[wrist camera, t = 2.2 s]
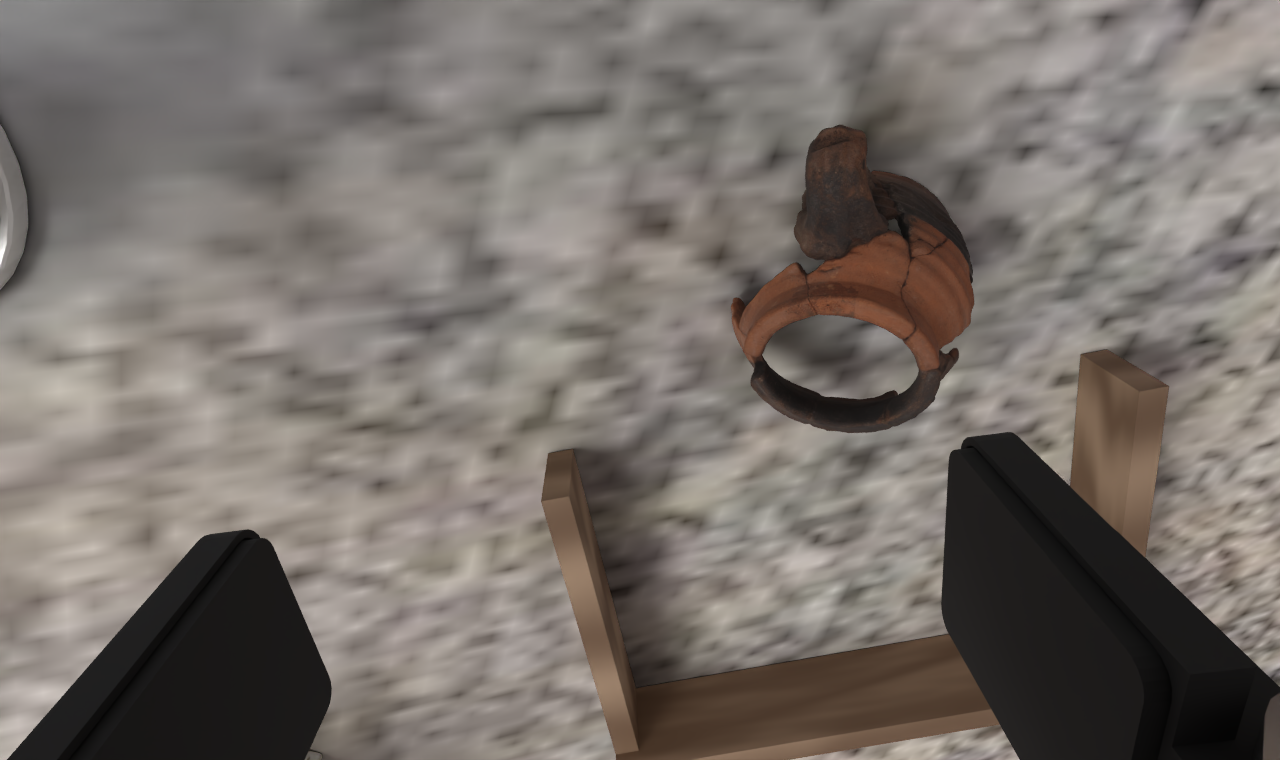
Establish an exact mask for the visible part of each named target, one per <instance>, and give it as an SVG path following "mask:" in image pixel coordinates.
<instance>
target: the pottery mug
mask: <svg viewBox="0 0 1280 760" xmlns="http://www.w3.org/2000/svg"><path fill="white" fill-rule="evenodd" d="M866 156H867V139H866V136H865V133H864V132H863V131H861V130H856V129H852V128H850V127H847V126H844V125H837V126H835V127H833V128H826V129H823V130H822V131H821V132H820V133H819V135H818V136H817V138H816V139H815V140H813V141H812V143H811V144H810V146H809V150H808V155H807V159H806V172H805V179H806V190H805V193H804V194H803V196H802V202H803V203H802V211H800V212H799V213H798V216H797V222H796V225H795V227H794V235H795V237H796V239H797V241H798V242H799V244H800V247H801V249H802V251H803V252H804V253H805V254H806V255H807V256H808V257H810V258H813V259H816V260H825V261H824V263H823V264H822V265H820V266H819V267H818V269H817V270H815V271H812V272H811V273H809V274H807V273H806V272H805V270H803V268H802V266H801V265H800V264H799V263H797V262H795V263H793V264H791V265H789V266H788V267H786V268H785V270H783V271H782V272H780V273H779V274H778V275H777V276H775V277H774V279H773V280H771V281H769V282H768V283H767V284H765V285H764V286H763V287H762V288H761V290H760V291H759V292H758V294H757V295H756V296H755V297H754V299H753V300H752V301H751V302H750V303H749V304H748V305H747V306H746V307H745V305H744V303H743V301H742V300H741V299H740V298H734V299H733V303H732V305H731V311H732V324H733V328H734V331H735V335H736V337H737V339H738V341H739V343H740V346H741V347H742V349H743V352H744V353H745V355H746V356H747V359H748V360H749V362H750V363H751V364H752V366H753V367H754V372H753V374H752V377H751V386H752V388H753V389H754V390H755V391H756V392H757V393H758V395H759V396H760V397H761V398H762V399H763V400H764V401H766V402H767V403H768V404H770V405H771V406H772V407H773V408H774V409H776V410H777V411H779V412H780V413H782V414H783V415H786V416H787V417H789V418H791V419H794V420H796V421H799V422H802V423H804V424H811V425H812V426H814V427H817V428H821V429H825V430H827V431H840V432H847V433H862V432H865V433H867V432H876V431H879V430H886V429H889V428H891V427H892V426H897V425H900V424H902V423H904V422H906V421H908V420H910V419H912V418H915V417H916V416H917V415H918V414H919V413H921V412H922V411H924V410H925V409H926V408H927V407H928V406H929V405H930V404H931V403H932V402H933V401H934V400H935V395H936V393H937V391H938V389H939V385H940V381H941V380H942V379H943V378H944V376H945V375H946V374H947V373H948V372H949V371H950V369H951V368H952V367H953V366H954V364H955V363H956V362H957V360H958V358H959V351H958V349H957V348H953V349H952V350H951V351H950V352H949V353H948V354H944V353H942V351H940V349H941V348H942V347H943V346H944V345H946V344H948V343H950V342H952V341H953V340H954V338H955V337H957V336H959V335H960V334H961V333H962V332H963V330H964V329H965V328H966V327H968V326H969V324H970V322H971V312H972V308H973V306H974V294H973V289H972V286H971V284H972V282H973V279H972V274H973V269H972V265H971V262H970V256H969V253H968V250H967V247H966V244H965V242H964V240H963V236H962V234H961V232H960V230H959V229H958V228H957V226H956V225H955V224H954V223H953V221H952V220H951V218H950V216H949V214H948V212H947V210H946V209H945V207H944V206H943V204H942V203H941V202H940V201H939V199H938V198H937V197H936V196H935V195H934V194H933V193H931V192H930V191H929V190H928V189H926V188H925V187H924V186H922V185H921V184H919V183H917V182H916V181H914V180H912V179H910V178H907V177H904V176H899V175H896V174H892V173H887V172H881V171H872V172H870V171H869V169H868V168H867V166H866ZM892 219H896V220H897V221H898V225H899V227H900V230H901V233H902V235H903V237H902V236H901V235H900V234H898V233H897V232H895V231H891V230H889V229H888V221H887V220H892ZM818 314H820V315H839V316H844V317H851V318H856V319H860V320H863V321H867V322H870V323H873V324H875V325H878V326H880V327H882V328H884V329H886V330H888V331H889V332H891V333H893V334H894V335H896V336H897V337H898V338H900V339H902V340H903V341H904V343H905V344H906V345H907V346H908V347H909V348H910V350H911V351H912V353H913V354H914V356H915V359H916V362H917V365H918V368H919V372H918V376H917V378H916V380H915V381H914V383H913V384H912V385H911V386H910V387H909V388H908V389H907V390H906V391H904V392H903V393H901V394H899V395H898V394H897V392H896V391H895V390H893V391H889V392H887V393H885V394H883V395H881V396H878V397H875V398H867V399H860V400H858V399H848V398H839V397H824V396H821V395H820V394H819V393H817V392H814V391H812V390H809V389H807V388H804V387H801V386H798V385H796V384H794V383H792V382H790V381H788V380H786V379H784V378H783V377H781V376H780V375H778V374H777V373H776V372H775V371H774V370H773V369H771V368H770V367H769V365H768V364H767V362H766V361H765V360H764V358H763V356H762V354H763V352H764V349H765V347H766V344H767V343H768V341H769V339H770V338H771V337H772V335H773V334H774V333H775V332H777V331H778V330H780V329H781V328H783V327H785V326H786V325H788V324H790V323H793V322H795V321H798V320H802V319H805V318H808V317H811V316H815V315H818Z"/></svg>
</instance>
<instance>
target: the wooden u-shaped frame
mask: <svg viewBox="0 0 1280 760" xmlns="http://www.w3.org/2000/svg"><path fill="white" fill-rule="evenodd" d="M1168 390H1169V386H1168V385H1166V384H1164V383H1163V382H1161V381H1159V380H1158V379H1156V378H1154V377H1153V376H1151V375H1149V374H1147V373H1146V372H1144V371H1142V370H1141V369H1139V368H1137V367H1136V366H1134V365H1132V364H1131V363H1129V362H1127V361H1125V360H1124V359H1122V358H1120V357H1119V356H1117V355H1115V354H1114V353H1112V352H1110V351H1109V350H1102V351H1096V352H1091V353H1086V354H1081V358H1080V370H1079V383H1078V395H1077V408H1076V420H1075V433H1074V445H1073V457H1072V470H1071V482H1070V487H1071V488H1072V489H1073V490H1074V491H1075V492H1076V493H1077V494H1078V495H1079V496H1080V497H1081V498H1082V499H1083V500H1084V501H1086V502H1087V503H1088V504H1089V505H1090V506H1091V507H1092V508H1093V509H1094V510H1095V511H1096V512H1097V513H1098V514H1099V515H1100V516H1101V517H1102V518H1103V519H1104V520H1105V521H1106V522H1107V523H1108V524H1109V525H1110V526H1111V527H1113V528H1114V529H1115V530H1116V531H1117V532H1119V533H1120V534H1121V535H1122V536H1123V537H1124V538H1125V539H1126V540H1127V541H1128V542H1129V543H1130V544H1131V545H1132V546H1133V547H1134V548H1135V549H1136V550H1137V551H1139V552H1140V553H1141V554H1142V555H1143V556H1144V557H1145V555H1146V547H1147V540H1148V533H1149V526H1150V519H1151V512H1152V504H1153V497H1154V490H1155V483H1156V476H1157V469H1158V462H1159V454H1160V447H1161V440H1162V433H1163V426H1164V419H1165V411H1166V404H1167V397H1168ZM541 502H542V506H543V509H544V512H545V516H546V519H547V523H548V526H549V529H550V533H551V536H552V540H553V543H554V546H555V550H556V553H557V556H558V560H559V563H560V567H561V570H562V573H563V577H564V580H565V584H566V587H567V590H568V594H569V597H570V600H571V604H572V607H573V611H574V614H575V617H576V621H577V624H578V628H579V631H580V634H581V638H582V641H583V644H584V648H585V651H586V655H587V658H588V661H589V665H590V668H591V672H592V675H593V678H594V682H595V685H596V688H597V692H598V695H599V699H600V702H601V705H602V709H603V712H604V716H605V719H606V722H607V726H608V729H609V732H610V736H611V739H612V743H613V746H614V749H615V753H616V760H790V759H796V758H802V757H808V756H814V755H820V754H825V753H831V752H837V751H843V750H849V749H855V748H861V747H867V746H873V745H879V744H885V743H891V742H897V741H903V740H909V739H915V738H921V737H927V736H933V735H939V734H945V733H951V732H957V731H963V730H969V729H975V728H981V727H987V726H993V725H999V722H998V720H997V718H996V717H995V715H994V713H993V711H992V709H991V708H990V706H989V704H988V702H987V701H986V699H985V697H984V695H983V694H982V692H981V690H980V688H979V686H978V685H977V683H976V681H975V679H974V678H973V676H972V674H971V672H970V670H969V669H968V667H967V665H966V663H965V662H964V660H963V658H962V656H961V655H960V653H959V651H958V649H957V647H956V646H955V644H954V642H953V640H952V639H951V637H950V635H949V634H948V635H942V636H936V637H930V638H924V639H919V640H913V641H907V642H901V643H895V644H889V645H884V646H878V647H872V648H866V649H860V650H855V651H849V652H843V653H837V654H831V655H826V656H820V657H814V658H808V659H802V660H797V661H791V662H785V663H779V664H773V665H768V666H762V667H756V668H750V669H744V670H739V671H733V672H727V673H721V674H715V675H710V676H704V677H698V678H692V679H686V680H681V681H675V682H669V683H663V684H657V685H652V686H646V687H640V688H636V687H635V683H634V679H633V676H632V672H631V668H630V664H629V660H628V657H627V653H626V649H625V645H624V641H623V638H622V634H621V630H620V626H619V622H618V619H617V615H616V611H615V607H614V603H613V600H612V596H611V592H610V588H609V584H608V581H607V577H606V573H605V569H604V565H603V562H602V558H601V554H600V550H599V546H598V543H597V539H596V535H595V531H594V527H593V524H592V520H591V516H590V512H589V508H588V505H587V501H586V497H585V493H584V489H583V486H582V482H581V478H580V474H579V470H578V467H577V463H576V459H575V455H574V451H573V449H570V450H564V451H559V452H553V453H548V458H547V465H546V472H545V479H544V486H543V493H542V500H541Z"/></svg>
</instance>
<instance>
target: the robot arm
mask: <svg viewBox="0 0 1280 760" xmlns="http://www.w3.org/2000/svg"><path fill="white" fill-rule="evenodd" d="M27 230H28V206H27V194H26V190H25V186H24V182H23V178H22V174H21V170H20V166H19V163H18V161H17V158H16V156H15V154H14V152H13V149H12V147H11V145H10V142H9V140H8V138H7V136H6V133H5V131H4V130H3V128H2V127H1V125H0V290H1V288H2V287H3V286H4V285H5V284H6V282H7V281H8V280H9V279H10V278H11V277H12V275H13V274H14V272H15V269H16V267H17V265H18V263H19V261H20V259H21V257H22V254H23V252H24V247H25V242H26V236H27ZM941 605H942V615H943V619H944V623H945V626H946V629H947V631H948V633H949V635H950V637H951V639H952V640H953V642H954V644H955V646H956V647H957V649H958V651H959V653H960V655H961V656H962V658H963V660H964V662H965V663H966V665H967V667H968V669H969V670H970V672H971V674H972V676H973V678H974V679H975V681H976V683H977V685H978V686H979V688H980V690H981V692H982V694H983V695H984V697H985V699H986V701H987V702H988V704H989V706H990V708H991V709H992V711H993V713H994V715H995V717H996V718H997V720H998V722H999V724H1000V725H1001V727H1002V729H1003V731H1004V732H1005V734H1006V736H1007V738H1008V740H1009V741H1010V743H1011V745H1012V747H1013V748H1014V750H1015V752H1016V754H1017V756H1018V757H1019V759H1020V760H1280V687H1279V686H1278V685H1277V684H1276V683H1275V682H1274V681H1273V680H1272V679H1271V678H1270V677H1269V676H1268V675H1266V674H1265V673H1264V672H1263V671H1262V670H1261V669H1260V668H1259V667H1258V666H1257V665H1256V664H1255V663H1254V662H1253V661H1252V660H1251V659H1250V658H1249V657H1248V656H1247V655H1246V654H1245V653H1244V652H1243V651H1242V650H1240V649H1239V648H1238V647H1237V646H1236V645H1235V644H1234V643H1233V642H1232V641H1231V640H1230V639H1229V638H1228V637H1227V636H1226V635H1225V634H1224V633H1223V632H1222V631H1221V630H1220V629H1219V628H1218V627H1217V626H1216V625H1214V624H1213V623H1212V622H1211V621H1210V620H1209V619H1208V618H1207V617H1206V616H1205V615H1204V614H1203V613H1202V612H1201V611H1200V610H1199V609H1198V608H1197V607H1196V606H1195V605H1194V604H1193V603H1192V602H1191V601H1189V600H1188V599H1187V598H1186V597H1185V596H1184V595H1183V594H1182V593H1181V592H1180V591H1179V590H1178V589H1177V588H1176V587H1175V586H1174V585H1173V584H1172V583H1171V582H1170V581H1169V580H1168V579H1167V578H1166V577H1165V576H1163V575H1162V574H1161V573H1160V572H1159V571H1158V570H1157V569H1156V568H1155V567H1154V566H1153V565H1152V564H1151V563H1150V562H1149V561H1148V560H1147V559H1146V558H1145V557H1144V556H1143V555H1142V554H1141V553H1140V552H1139V551H1137V550H1136V549H1135V548H1134V547H1133V546H1132V545H1131V544H1130V543H1129V542H1128V541H1127V540H1126V539H1125V538H1124V537H1123V536H1122V535H1121V534H1120V533H1119V532H1117V531H1116V530H1115V529H1114V528H1113V527H1111V526H1110V525H1109V524H1108V523H1107V522H1106V521H1105V520H1104V519H1103V518H1102V517H1101V516H1100V515H1099V514H1098V513H1097V512H1096V511H1095V510H1094V509H1093V508H1092V507H1091V506H1090V505H1089V504H1088V503H1087V502H1086V501H1084V500H1083V499H1082V498H1081V497H1080V496H1079V495H1078V494H1077V493H1076V492H1075V491H1074V490H1073V489H1072V488H1071V487H1070V486H1069V485H1068V484H1067V483H1066V482H1065V481H1064V480H1063V479H1062V478H1061V477H1060V476H1059V475H1057V474H1056V473H1055V472H1054V471H1053V470H1052V469H1051V468H1050V467H1049V466H1048V465H1047V464H1046V463H1045V462H1044V461H1043V460H1042V459H1041V458H1040V457H1039V456H1038V455H1037V454H1036V453H1035V452H1034V451H1033V450H1032V449H1030V448H1029V447H1028V446H1027V445H1026V444H1025V443H1024V442H1023V441H1022V440H1021V439H1020V438H1019V437H1018V436H1017V435H1015V434H1014V433H1011V432H1006V433H998V434H990V435H982V436H975V437H967V438H966V439H965V440H964V441H963V443H962V446H961V449H958V450H953V451H952V452H951V454H950V457H949V467H948V487H947V506H946V525H945V544H944V564H943V583H942V602H941ZM331 689H332V688H331V681H330V678H329V675H328V673H327V670H326V668H325V666H324V663H323V661H322V659H321V656H320V654H319V652H318V649H317V647H316V645H315V642H314V640H313V638H312V636H311V633H310V631H309V629H308V626H307V624H306V622H305V619H304V617H303V615H302V612H301V610H300V608H299V605H298V603H297V601H296V598H295V596H294V594H293V592H292V589H291V587H290V585H289V582H288V580H287V578H286V575H285V573H284V571H283V568H282V566H281V564H280V561H279V559H278V557H277V554H276V552H275V550H274V547H273V546H272V544H271V542H270V541H268V540H267V539H264V538H260V537H259V535H258V534H257V533H255V532H254V531H252V530H240V531H232V532H224V533H216V534H210V535H206V536H204V537H202V538H201V539H200V540H199V541H198V542H197V543H196V544H195V545H194V546H193V547H192V549H191V550H190V551H189V552H188V553H187V554H186V555H185V557H184V558H183V559H182V560H181V561H180V562H179V564H178V565H177V566H176V567H175V568H174V569H173V570H172V572H171V573H170V574H169V575H168V576H167V577H166V578H165V580H164V581H163V582H162V583H161V584H160V585H159V586H158V588H157V589H156V590H155V591H154V592H153V593H152V594H151V596H150V597H149V598H148V599H147V600H146V601H145V602H144V604H143V605H142V606H141V607H140V608H139V609H138V610H137V612H136V613H135V614H134V615H133V616H132V617H131V618H130V620H129V621H128V622H127V623H126V624H125V625H124V626H123V628H122V629H121V630H120V631H119V632H118V633H117V634H116V636H115V637H114V638H113V639H112V640H111V641H110V642H109V644H108V645H107V646H106V647H105V648H104V649H103V651H102V652H101V653H100V654H99V655H98V656H97V657H96V659H95V660H94V661H93V662H92V663H91V664H90V665H89V667H88V668H87V669H86V670H85V671H84V672H83V673H82V675H81V676H80V677H79V678H78V679H77V680H76V681H75V683H74V684H73V685H72V686H71V687H70V688H69V689H68V691H67V692H66V693H65V694H64V695H63V696H62V697H61V699H60V700H59V701H58V702H57V703H56V704H55V705H54V707H53V708H52V709H51V710H50V711H49V712H48V713H47V715H46V716H45V717H44V718H43V719H42V720H41V721H40V723H39V724H38V725H37V726H36V727H35V728H34V729H33V731H32V732H31V733H30V734H29V735H28V736H27V737H26V739H25V740H24V741H23V742H22V743H21V744H20V746H19V747H18V748H17V749H16V750H15V751H14V752H13V754H12V755H11V756H10V757H9V758H8V759H7V760H305V758H306V756H307V754H308V751H309V749H310V747H311V745H312V742H313V740H314V738H315V736H316V734H317V731H318V729H319V727H320V725H321V723H322V720H323V718H324V716H325V714H326V711H327V709H328V707H329V704H330V700H331Z"/></svg>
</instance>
